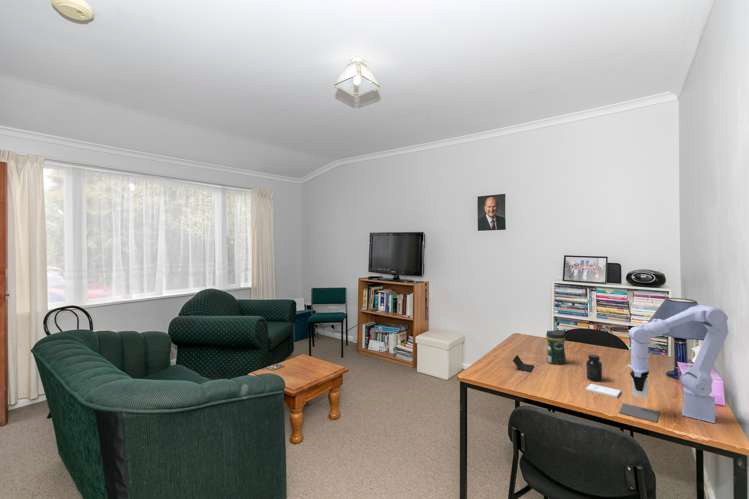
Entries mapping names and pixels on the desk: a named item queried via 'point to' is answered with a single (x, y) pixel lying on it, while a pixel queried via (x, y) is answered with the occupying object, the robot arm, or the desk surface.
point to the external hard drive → (603, 390)
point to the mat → (639, 412)
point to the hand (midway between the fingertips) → (639, 389)
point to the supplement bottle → (594, 368)
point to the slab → (640, 393)
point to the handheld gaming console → (522, 365)
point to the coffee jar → (556, 347)
